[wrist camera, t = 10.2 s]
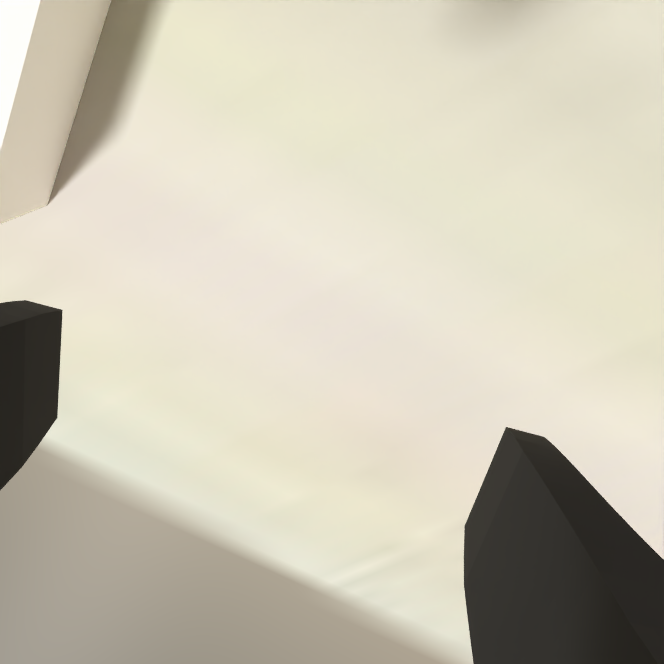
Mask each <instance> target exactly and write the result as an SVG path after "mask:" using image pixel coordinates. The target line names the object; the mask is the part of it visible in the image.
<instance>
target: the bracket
mask: <svg viewBox="0 0 664 664" xmlns="http://www.w3.org/2000/svg"><path fill="white" fill-rule="evenodd" d="M110 3H111V0H0V224H2V223H4V222H7V221H9V220H12V219H14V218H17V217H19V216H22V215H24V214H27V213H29V212H32V211H34V210H37V209H40V208H42V207H45V206H47V205H48V202H49V199H50V195H51V192H52V189H53V186H54V183H55V179H56V176H57V173H58V170H59V167H60V163H61V160H62V157H63V154H64V151H65V147H66V144H67V141H68V138H69V134H70V131H71V128H72V125H73V122H74V118H75V115H76V112H77V109H78V106H79V102H80V99H81V96H82V93H83V90H84V86H85V83H86V80H87V77H88V74H89V70H90V67H91V64H92V61H93V57H94V54H95V51H96V48H97V45H98V41H99V38H100V35H101V32H102V29H103V25H104V22H105V19H106V16H107V13H108V9H109V6H110Z"/></svg>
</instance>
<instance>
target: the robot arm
mask: <svg viewBox="0 0 664 664" xmlns="http://www.w3.org/2000/svg"><path fill="white" fill-rule="evenodd" d="M61 328H62V310H60V309H56V308H53V307H49V306H45V305H41V304H37V303H34V302H30V301H26V300H24V301H12V302H5V303H0V490H1V489H2V488H3V487H4V486H5V485H6V483H7V482H8V481H9V480H10V479H11V478H12V477H13V476H14V475H15V474H16V473H17V472H18V471H19V469H20V468H21V467H22V466H23V465H24V463H25V462H26V461H27V459H28V458H29V457H30V455H31V454H32V453H33V451H34V450H35V449H36V447H37V446H38V445H39V443H40V442H41V440H42V439H43V437H44V436H45V435H46V433H47V432H48V430H49V429H50V427H51V426H52V424H53V423H54V421H55V420H56V419H57V411H58V390H59V370H60V349H61ZM464 588H465V597H466V606H467V614H468V623H469V631H470V639H471V647H472V654H473V662H474V664H664V560H663V559H662V558H661V557H660V556H659V555H658V554H657V553H656V552H655V551H654V550H653V549H652V548H651V547H650V546H649V545H648V544H647V543H646V542H645V541H644V540H643V539H642V538H641V537H640V536H639V535H638V534H637V533H636V532H635V531H634V530H633V529H632V528H631V527H630V526H629V524H628V523H627V522H626V521H625V520H624V519H623V518H622V517H621V516H620V515H619V514H618V513H617V512H616V511H615V510H614V509H613V508H612V507H611V505H610V504H609V503H608V502H607V501H606V500H605V499H604V498H603V497H602V496H601V495H600V494H599V493H598V492H597V490H596V489H595V488H594V487H593V486H592V485H591V484H590V483H589V482H588V481H587V480H586V479H585V477H584V476H583V475H582V474H581V473H580V472H579V471H578V470H577V469H576V468H575V467H574V466H573V465H572V464H571V462H570V461H569V460H568V459H567V458H566V457H565V456H564V455H563V454H562V453H561V452H560V451H559V450H558V449H557V448H556V447H555V446H554V445H553V444H552V443H551V442H549V441H548V440H547V439H546V438H545V437H542V436H538V435H534V434H530V433H527V432H523V431H519V430H515V429H512V428H508V427H506V429H505V431H504V433H503V436H502V438H501V441H500V443H499V445H498V448H497V450H496V453H495V455H494V457H493V460H492V462H491V465H490V467H489V469H488V472H487V474H486V477H485V479H484V481H483V484H482V486H481V489H480V491H479V493H478V496H477V498H476V500H475V503H474V505H473V508H472V510H471V512H470V515H469V517H468V520H467V522H466V524H465V538H464Z"/></svg>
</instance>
